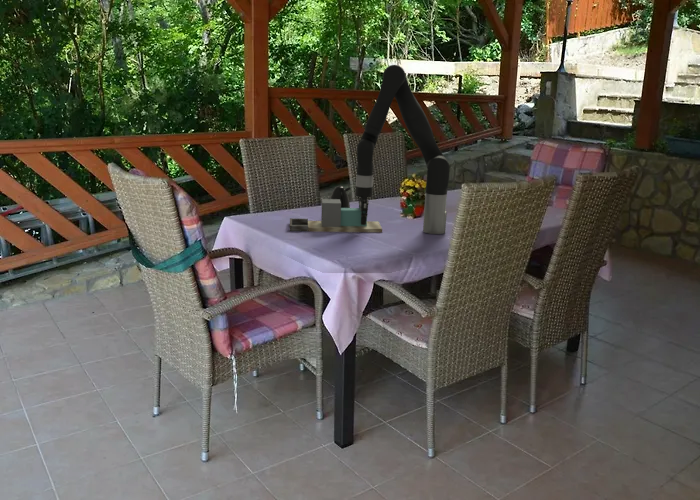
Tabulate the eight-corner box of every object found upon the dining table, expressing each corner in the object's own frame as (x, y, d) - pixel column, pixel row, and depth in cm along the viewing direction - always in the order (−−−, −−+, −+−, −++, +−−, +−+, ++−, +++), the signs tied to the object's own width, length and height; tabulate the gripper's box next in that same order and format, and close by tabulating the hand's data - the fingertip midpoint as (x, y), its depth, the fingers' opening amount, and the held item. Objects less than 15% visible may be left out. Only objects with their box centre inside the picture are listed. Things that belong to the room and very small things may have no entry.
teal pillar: (365, 223, 282) (366, 208, 280) (366, 226, 277) (367, 210, 275) (325, 223, 280) (325, 207, 278) (325, 225, 275) (326, 210, 273)
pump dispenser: (353, 219, 295) (354, 187, 291) (332, 220, 291) (333, 188, 287) (345, 214, 304) (346, 183, 300) (325, 216, 301) (325, 184, 296)
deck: (378, 224, 287) (378, 219, 286) (382, 232, 274) (382, 227, 273) (289, 223, 283) (289, 218, 283) (289, 231, 270) (289, 225, 269)
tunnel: (339, 222, 282) (339, 199, 279) (340, 227, 274) (341, 203, 271) (321, 222, 282) (321, 199, 279) (322, 226, 274) (322, 203, 271)
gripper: (374, 188, 268) (373, 227, 272) (371, 182, 281) (369, 219, 286) (357, 188, 267) (355, 227, 272) (354, 182, 281) (352, 219, 285)
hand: (362, 223), depth 279 cm, fingers closed on teal pillar, 5 cm apart
